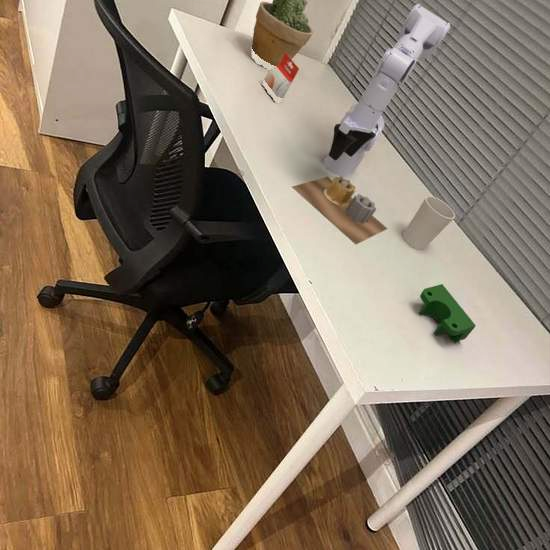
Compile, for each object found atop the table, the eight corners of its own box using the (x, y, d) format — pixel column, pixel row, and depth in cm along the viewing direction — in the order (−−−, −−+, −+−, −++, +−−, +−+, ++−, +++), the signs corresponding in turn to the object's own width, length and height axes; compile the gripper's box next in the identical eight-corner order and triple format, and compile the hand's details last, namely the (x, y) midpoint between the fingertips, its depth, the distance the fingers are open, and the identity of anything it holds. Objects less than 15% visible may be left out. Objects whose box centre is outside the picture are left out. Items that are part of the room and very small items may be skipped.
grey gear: (353, 205, 132) (362, 192, 130) (370, 220, 130) (380, 207, 128) (342, 210, 128) (350, 196, 125) (359, 225, 126) (369, 212, 124)
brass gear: (336, 189, 134) (345, 176, 132) (351, 204, 132) (359, 191, 129) (321, 190, 130) (330, 176, 128) (336, 205, 128) (345, 192, 125)
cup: (425, 245, 137) (455, 209, 130) (423, 261, 130) (454, 223, 123) (398, 229, 137) (426, 191, 130) (394, 243, 130) (424, 205, 123)
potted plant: (244, 41, 186) (276, -34, 171) (293, 67, 189) (328, -4, 175) (236, 58, 171) (270, -23, 157) (289, 85, 175) (328, 9, 160)
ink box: (274, 103, 159) (292, 66, 152) (260, 85, 164) (277, 49, 157) (281, 104, 161) (299, 69, 154) (268, 87, 166) (285, 52, 159)
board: (325, 180, 138) (336, 161, 134) (384, 232, 132) (398, 214, 129) (289, 190, 126) (300, 170, 122) (353, 248, 120) (367, 228, 117)
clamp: (408, 324, 117) (414, 286, 113) (429, 317, 120) (436, 280, 116) (449, 353, 108) (457, 313, 104) (471, 345, 110) (480, 306, 106)
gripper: (372, 93, 126) (342, 142, 134) (343, 94, 115) (311, 148, 123) (395, 111, 124) (363, 160, 132) (368, 114, 113) (335, 167, 121)
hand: (340, 156), depth 127 cm, fingers open, 7 cm apart
